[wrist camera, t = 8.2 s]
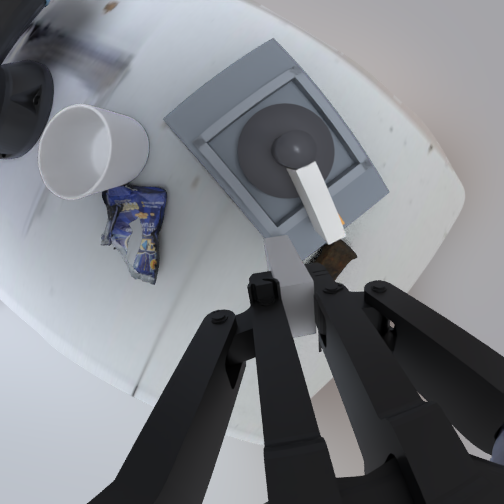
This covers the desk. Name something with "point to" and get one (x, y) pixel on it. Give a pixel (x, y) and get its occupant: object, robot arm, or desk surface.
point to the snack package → (151, 216)
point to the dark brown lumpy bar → (335, 257)
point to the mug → (90, 151)
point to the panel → (230, 127)
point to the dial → (292, 161)
